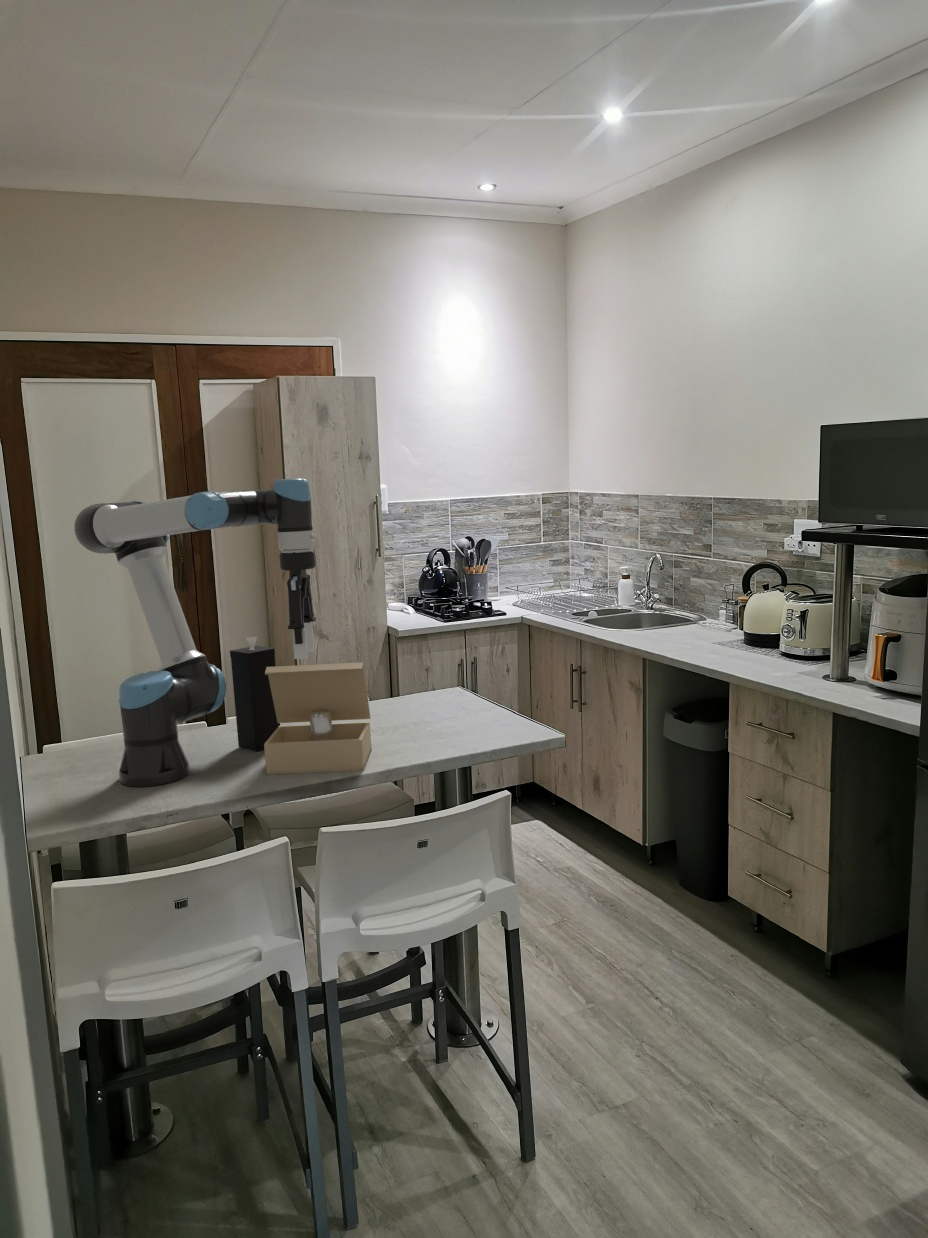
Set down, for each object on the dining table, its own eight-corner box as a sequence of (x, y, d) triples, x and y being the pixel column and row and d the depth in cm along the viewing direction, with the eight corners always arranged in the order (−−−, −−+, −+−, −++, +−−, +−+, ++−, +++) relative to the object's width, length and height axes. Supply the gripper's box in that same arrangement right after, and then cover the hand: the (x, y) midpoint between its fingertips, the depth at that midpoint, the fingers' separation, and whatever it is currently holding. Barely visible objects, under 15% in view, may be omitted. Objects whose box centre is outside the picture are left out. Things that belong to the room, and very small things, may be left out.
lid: (264, 672, 211) (266, 666, 214) (276, 728, 220) (278, 721, 222) (362, 668, 211) (363, 661, 213) (369, 724, 220) (370, 717, 222)
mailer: (266, 774, 207) (264, 744, 206) (281, 754, 223) (279, 725, 222) (363, 769, 207) (361, 739, 206) (371, 749, 223) (369, 721, 222)
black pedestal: (282, 744, 231) (273, 635, 228) (256, 752, 226) (246, 639, 222) (264, 740, 237) (255, 632, 233) (238, 747, 231) (228, 637, 227)
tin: (310, 758, 216) (307, 715, 215) (314, 752, 221) (311, 710, 220) (332, 757, 216) (329, 714, 215) (335, 751, 221) (332, 709, 219)
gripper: (305, 553, 188) (313, 663, 191) (322, 547, 209) (329, 646, 212) (268, 555, 188) (277, 664, 191) (289, 548, 209) (296, 647, 212)
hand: (304, 654), depth 201 cm, fingers open, 8 cm apart
